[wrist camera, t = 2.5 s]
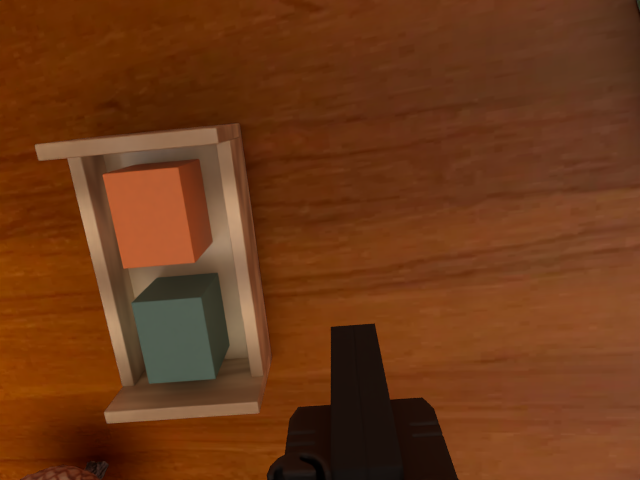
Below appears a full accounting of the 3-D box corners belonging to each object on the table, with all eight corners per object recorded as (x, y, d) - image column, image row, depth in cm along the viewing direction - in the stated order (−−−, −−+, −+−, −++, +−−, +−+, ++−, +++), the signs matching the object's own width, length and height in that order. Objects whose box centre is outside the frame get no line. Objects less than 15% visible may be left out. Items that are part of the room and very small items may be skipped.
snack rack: (94, 137, 28) (33, 144, 22) (240, 122, 28) (216, 126, 22) (145, 368, 32) (106, 424, 27) (272, 358, 32) (259, 413, 26)
